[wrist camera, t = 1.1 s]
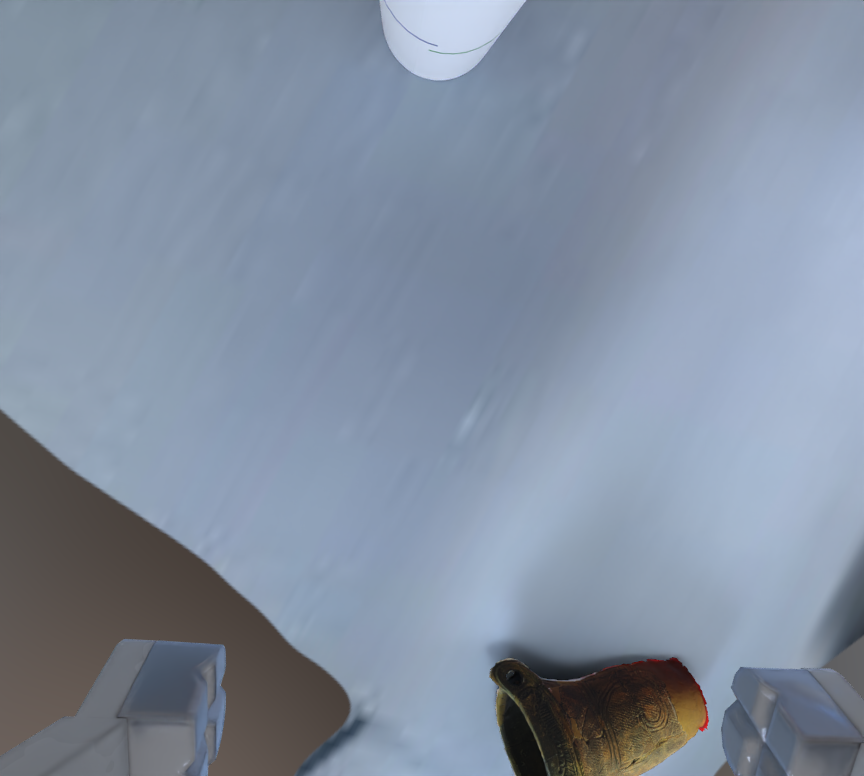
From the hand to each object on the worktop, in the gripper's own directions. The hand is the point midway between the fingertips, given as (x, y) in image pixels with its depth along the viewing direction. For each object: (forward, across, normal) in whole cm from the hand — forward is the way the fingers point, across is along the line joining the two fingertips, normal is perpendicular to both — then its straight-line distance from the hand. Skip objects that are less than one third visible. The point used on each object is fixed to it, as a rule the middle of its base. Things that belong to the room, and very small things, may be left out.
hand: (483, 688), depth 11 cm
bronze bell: (+40, -16, +35) cm, 55 cm away
